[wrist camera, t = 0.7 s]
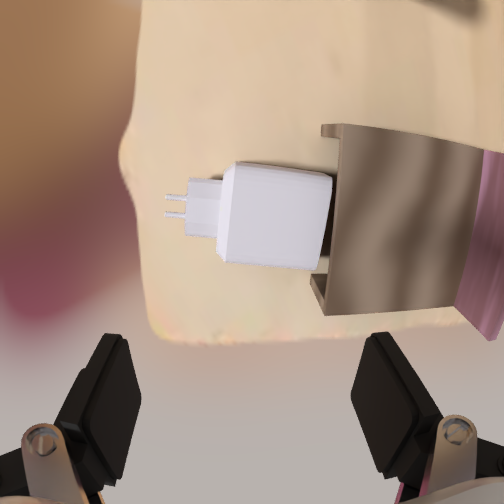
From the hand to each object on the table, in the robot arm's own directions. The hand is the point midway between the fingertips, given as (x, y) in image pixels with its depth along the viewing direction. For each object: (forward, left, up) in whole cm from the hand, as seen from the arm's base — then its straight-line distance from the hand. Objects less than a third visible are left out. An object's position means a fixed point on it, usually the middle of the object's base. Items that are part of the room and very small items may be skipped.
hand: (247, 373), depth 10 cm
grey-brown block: (-17, 0, -24) cm, 29 cm away
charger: (0, 0, -24) cm, 24 cm away
